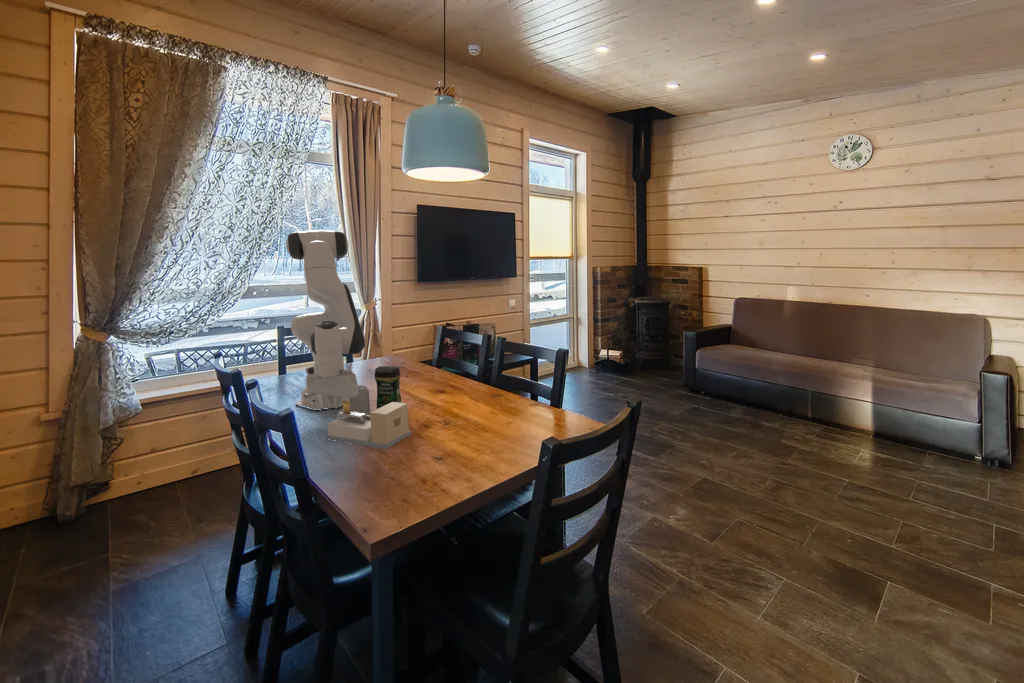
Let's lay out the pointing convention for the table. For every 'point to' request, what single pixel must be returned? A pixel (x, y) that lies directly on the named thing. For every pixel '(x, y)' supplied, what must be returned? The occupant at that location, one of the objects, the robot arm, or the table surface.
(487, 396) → the table surface
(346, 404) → the bolt
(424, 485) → the table surface
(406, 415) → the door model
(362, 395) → the can
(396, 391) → the coffee jar
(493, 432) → the table surface
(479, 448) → the table surface
